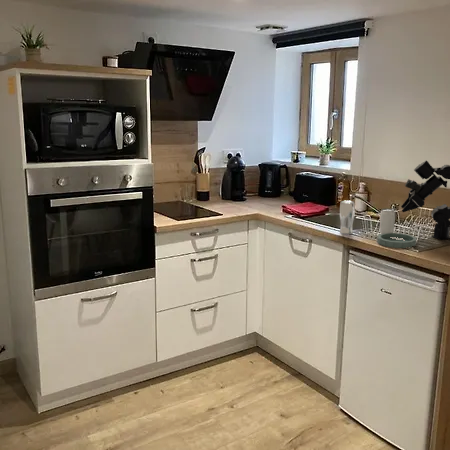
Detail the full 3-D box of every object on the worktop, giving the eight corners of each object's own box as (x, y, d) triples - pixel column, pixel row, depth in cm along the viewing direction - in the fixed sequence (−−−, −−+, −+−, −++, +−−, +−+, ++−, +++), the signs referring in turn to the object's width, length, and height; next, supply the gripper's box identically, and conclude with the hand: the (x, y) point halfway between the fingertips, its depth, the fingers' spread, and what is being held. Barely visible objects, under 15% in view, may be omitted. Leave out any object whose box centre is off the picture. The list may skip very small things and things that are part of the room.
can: (390, 232, 240) (392, 208, 237) (395, 236, 234) (397, 211, 231) (377, 233, 240) (378, 208, 237) (381, 236, 233) (383, 211, 231)
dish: (397, 236, 233) (397, 231, 233) (424, 245, 219) (424, 239, 218) (369, 240, 227) (370, 235, 226) (396, 249, 212) (396, 244, 212)
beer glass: (340, 230, 246) (341, 200, 242) (354, 231, 243) (356, 201, 240) (337, 233, 240) (338, 202, 236) (352, 234, 237) (354, 203, 234)
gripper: (415, 171, 235) (389, 193, 241) (418, 176, 218) (390, 200, 224) (432, 188, 235) (405, 210, 240) (436, 195, 217) (407, 218, 223)
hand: (402, 209), depth 232 cm, fingers open, 9 cm apart
